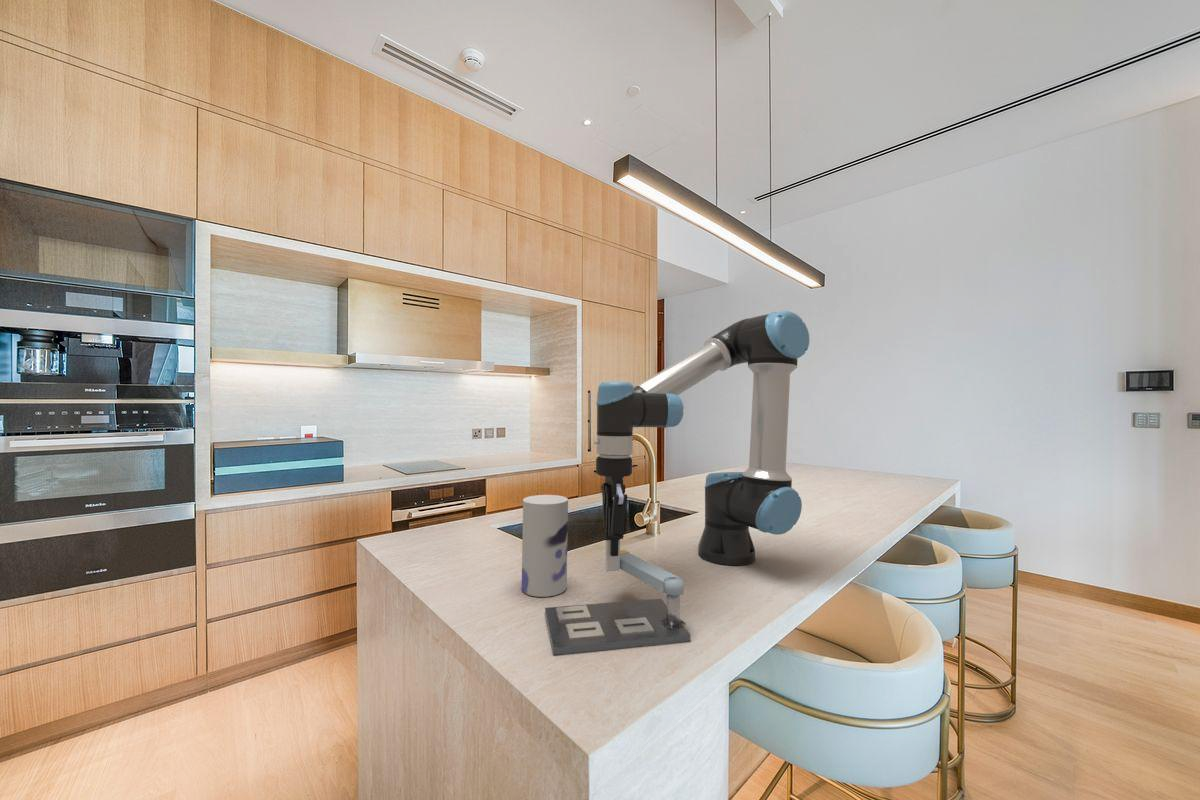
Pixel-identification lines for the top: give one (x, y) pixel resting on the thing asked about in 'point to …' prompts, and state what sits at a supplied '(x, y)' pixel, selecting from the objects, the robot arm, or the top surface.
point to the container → (544, 545)
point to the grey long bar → (651, 574)
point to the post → (673, 612)
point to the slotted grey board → (611, 626)
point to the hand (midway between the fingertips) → (612, 569)
